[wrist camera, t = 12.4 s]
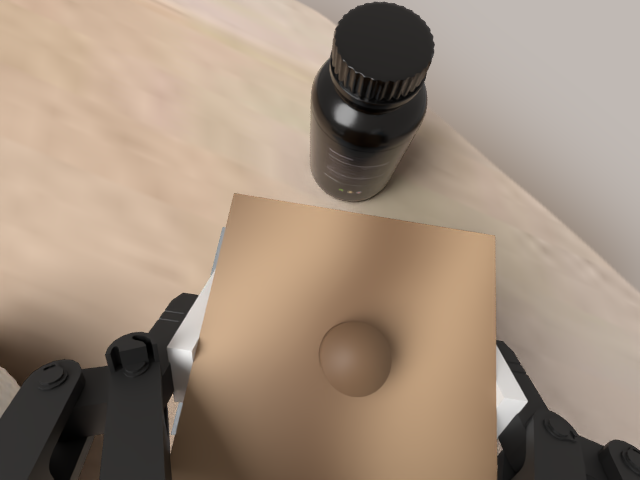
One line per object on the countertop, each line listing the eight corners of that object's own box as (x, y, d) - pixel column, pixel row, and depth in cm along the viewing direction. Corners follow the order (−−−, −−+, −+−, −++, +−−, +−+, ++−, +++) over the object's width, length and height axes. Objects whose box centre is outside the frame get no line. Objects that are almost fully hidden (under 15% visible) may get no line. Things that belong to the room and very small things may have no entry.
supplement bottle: (313, 127, 27) (321, -26, 15) (391, 136, 27) (457, -8, 15) (304, 199, 25) (304, 88, 13) (388, 209, 25) (460, 108, 13)
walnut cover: (409, 274, 20) (517, 225, 10) (397, 440, 17) (528, 596, 7) (262, 251, 20) (226, 177, 10) (229, 416, 17) (133, 543, 7)
